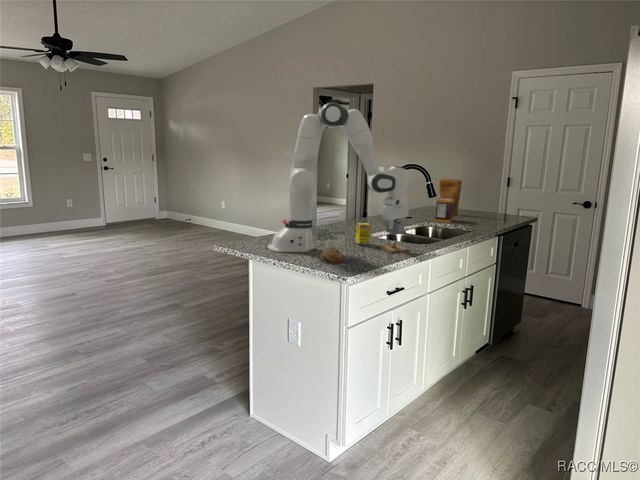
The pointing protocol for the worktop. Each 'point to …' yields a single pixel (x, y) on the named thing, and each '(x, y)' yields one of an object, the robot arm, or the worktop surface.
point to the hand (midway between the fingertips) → (395, 227)
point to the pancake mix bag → (450, 191)
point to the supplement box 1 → (363, 234)
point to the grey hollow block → (396, 227)
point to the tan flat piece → (393, 248)
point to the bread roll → (331, 256)
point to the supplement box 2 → (444, 210)
